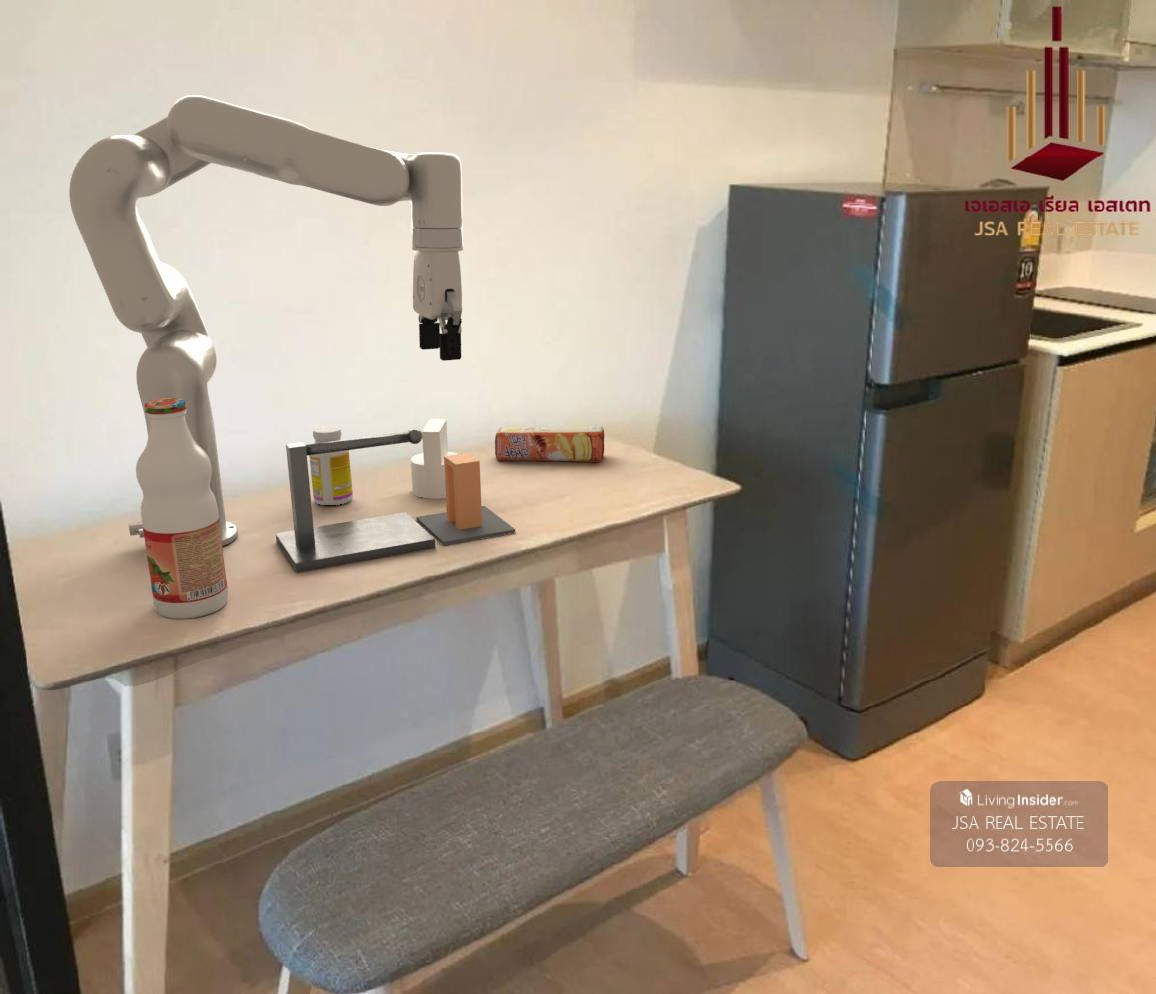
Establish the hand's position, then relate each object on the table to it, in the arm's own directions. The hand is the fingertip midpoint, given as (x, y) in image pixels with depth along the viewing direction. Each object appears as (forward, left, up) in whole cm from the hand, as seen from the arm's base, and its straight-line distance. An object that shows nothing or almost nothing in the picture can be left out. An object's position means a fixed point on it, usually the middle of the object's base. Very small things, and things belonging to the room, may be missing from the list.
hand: (440, 354), depth 163 cm
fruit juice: (-41, -14, -28) cm, 52 cm away
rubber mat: (+2, -2, -28) cm, 28 cm away
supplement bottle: (-13, +21, -28) cm, 37 cm away
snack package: (+31, +27, -28) cm, 50 cm away
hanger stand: (-15, -2, -28) cm, 32 cm away
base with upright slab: (+5, +18, -28) cm, 34 cm away
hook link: (+2, -2, -27) cm, 27 cm away
